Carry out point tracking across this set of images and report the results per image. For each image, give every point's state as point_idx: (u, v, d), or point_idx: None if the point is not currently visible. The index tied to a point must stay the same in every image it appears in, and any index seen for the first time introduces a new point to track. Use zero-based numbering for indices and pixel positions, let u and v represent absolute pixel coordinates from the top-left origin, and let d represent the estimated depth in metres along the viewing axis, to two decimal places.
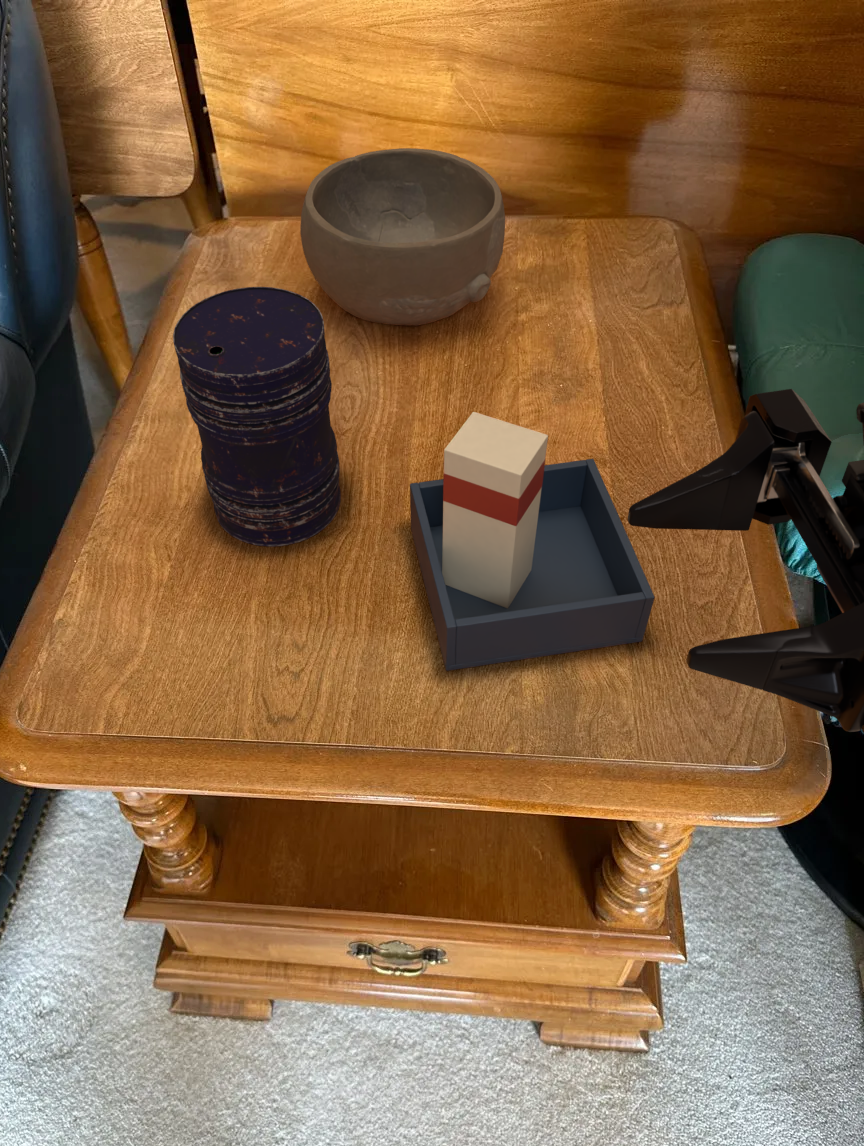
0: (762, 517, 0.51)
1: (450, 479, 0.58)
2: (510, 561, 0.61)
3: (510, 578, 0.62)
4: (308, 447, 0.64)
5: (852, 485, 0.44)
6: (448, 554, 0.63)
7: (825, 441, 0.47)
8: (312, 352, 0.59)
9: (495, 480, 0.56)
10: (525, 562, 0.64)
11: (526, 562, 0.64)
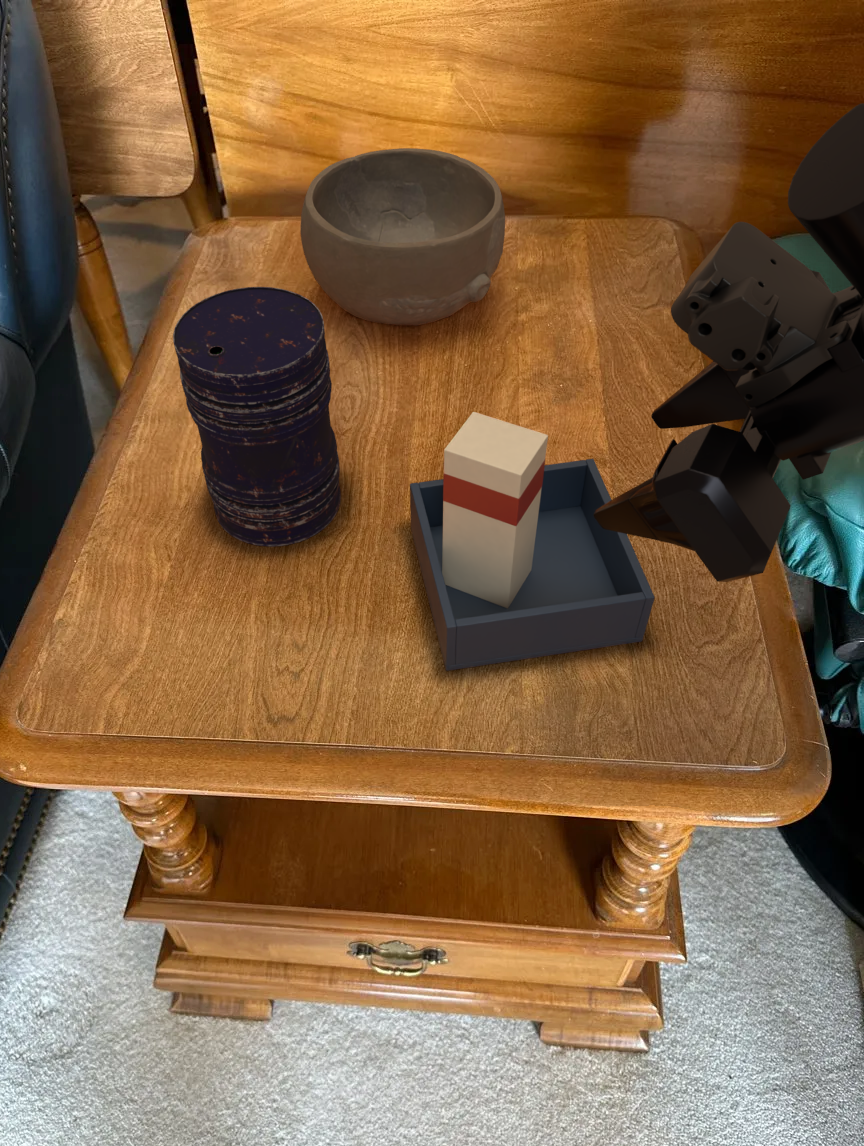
0: None
1: (450, 479, 0.58)
2: (510, 561, 0.61)
3: (510, 578, 0.62)
4: (308, 447, 0.64)
5: None
6: (448, 554, 0.63)
7: None
8: (312, 352, 0.59)
9: (495, 480, 0.56)
10: (525, 562, 0.64)
11: (526, 562, 0.64)
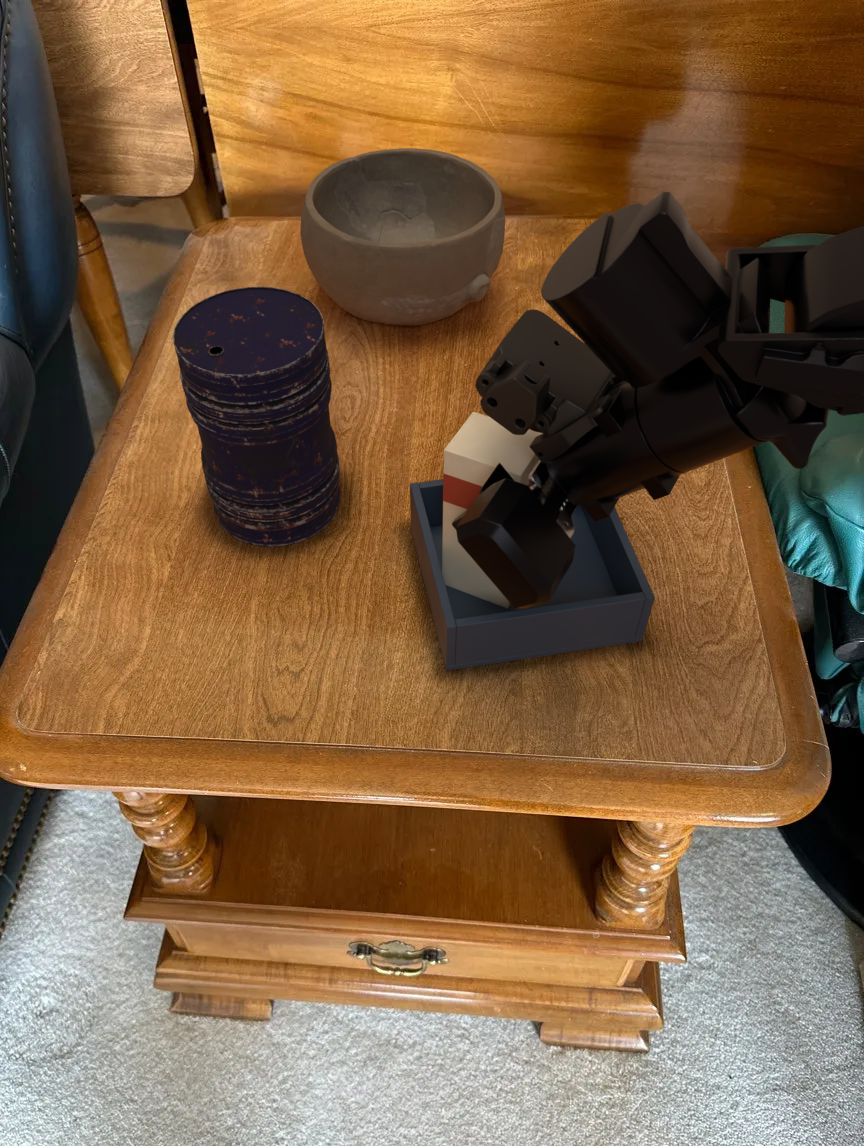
0: None
1: (450, 479, 0.58)
2: None
3: None
4: (308, 447, 0.64)
5: None
6: (448, 554, 0.63)
7: None
8: (312, 352, 0.59)
9: None
10: None
11: None
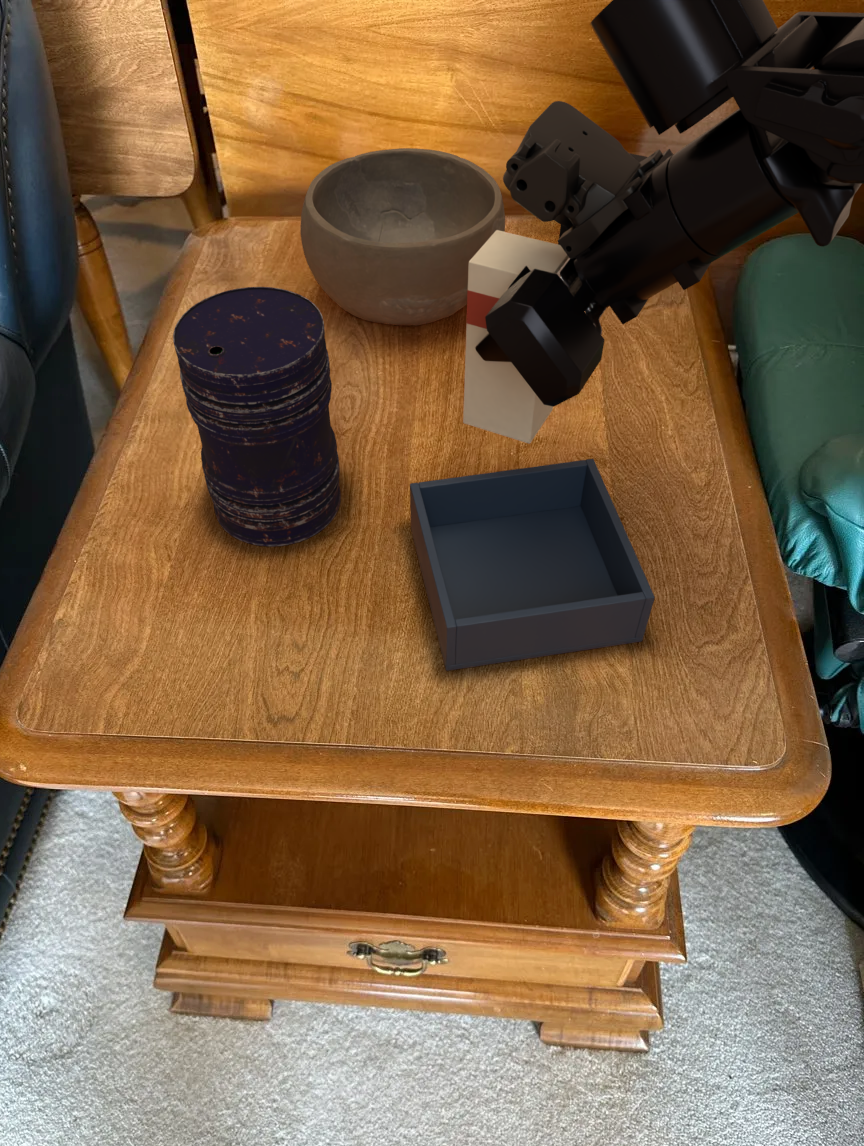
0: None
1: (474, 296, 0.58)
2: None
3: (533, 406, 0.62)
4: (308, 447, 0.64)
5: None
6: (470, 387, 0.63)
7: None
8: (312, 352, 0.59)
9: None
10: None
11: None
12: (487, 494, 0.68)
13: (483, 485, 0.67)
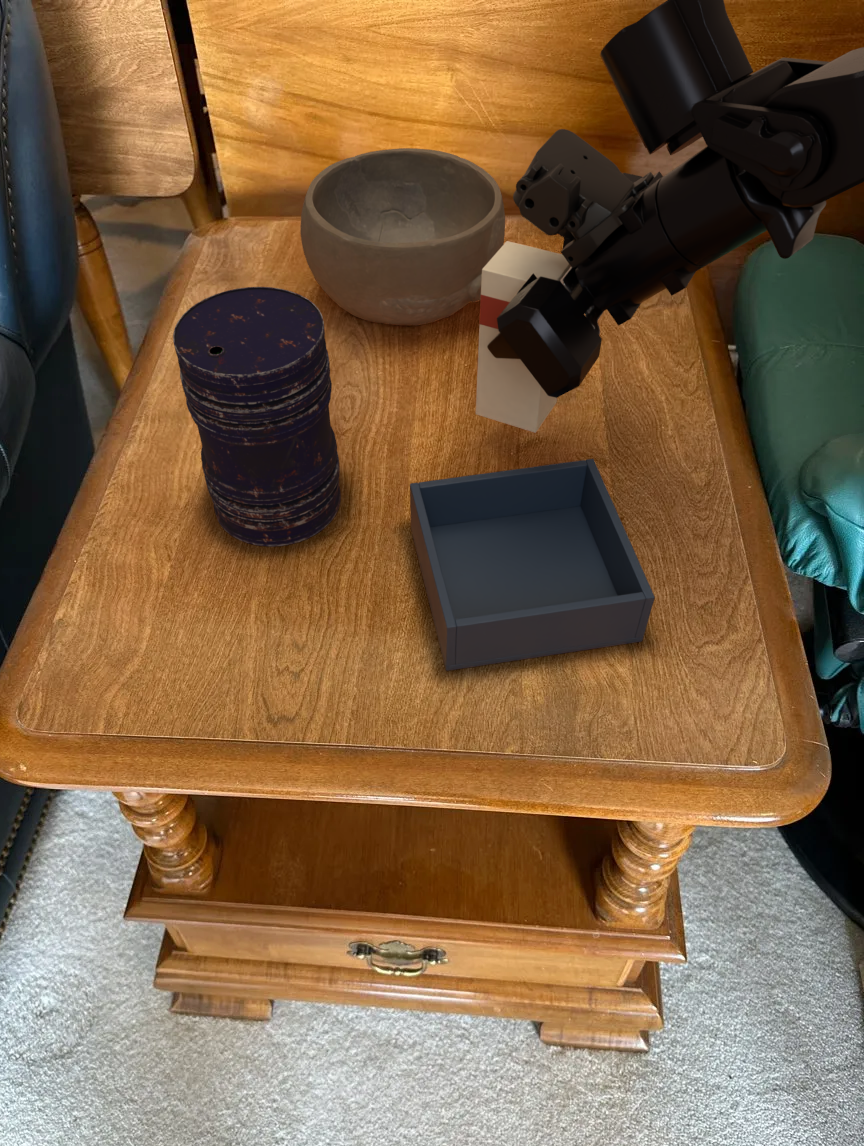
0: None
1: (486, 300, 0.65)
2: None
3: (539, 399, 0.69)
4: (308, 447, 0.64)
5: None
6: (482, 381, 0.70)
7: None
8: (312, 352, 0.59)
9: None
10: None
11: None
12: (487, 494, 0.68)
13: (483, 485, 0.67)
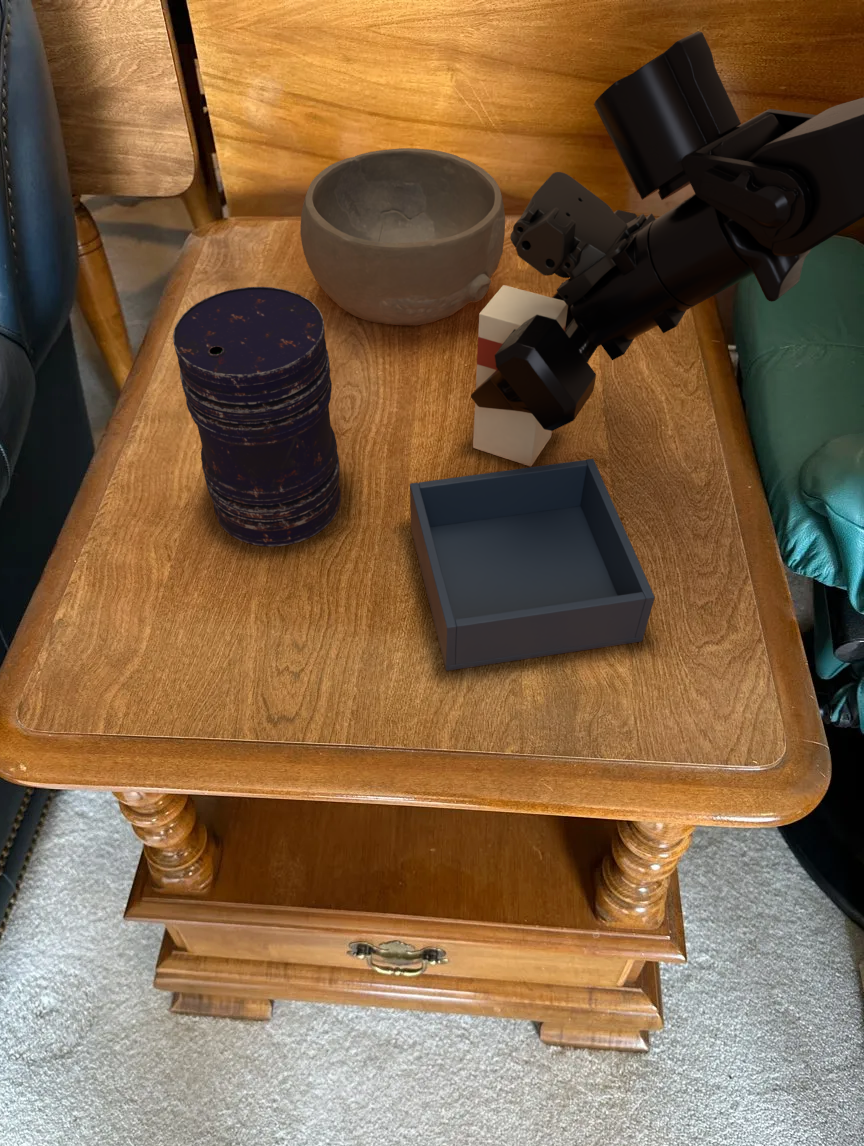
0: None
1: (484, 342, 0.67)
2: (534, 418, 0.70)
3: (534, 435, 0.71)
4: (308, 447, 0.64)
5: None
6: (479, 417, 0.73)
7: None
8: (312, 352, 0.59)
9: None
10: None
11: None
12: (487, 494, 0.68)
13: (483, 485, 0.67)
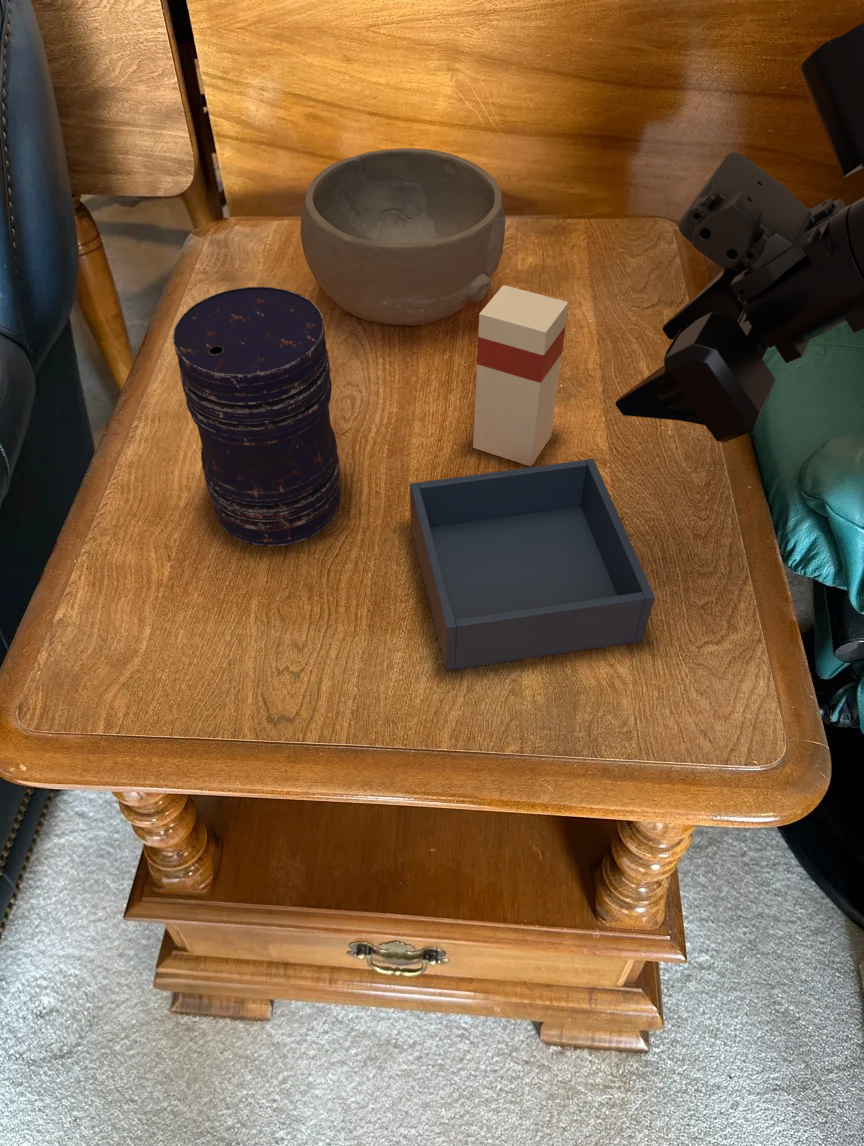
0: None
1: (484, 342, 0.67)
2: (534, 418, 0.70)
3: (534, 435, 0.71)
4: (308, 447, 0.64)
5: None
6: (479, 417, 0.73)
7: None
8: (312, 352, 0.59)
9: (523, 339, 0.66)
10: (546, 425, 0.73)
11: (547, 426, 0.74)
12: (487, 494, 0.68)
13: (483, 485, 0.67)
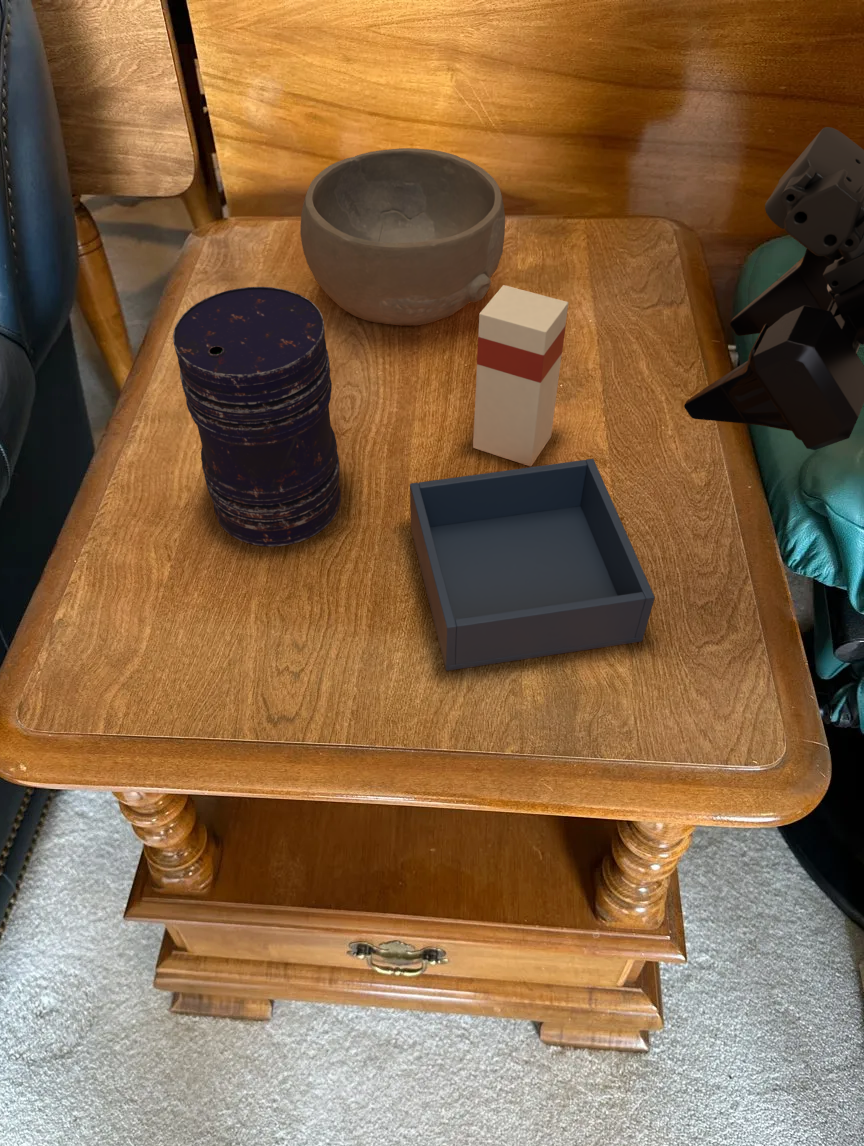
0: None
1: (484, 342, 0.67)
2: (534, 418, 0.70)
3: (534, 435, 0.71)
4: (308, 447, 0.64)
5: None
6: (479, 417, 0.73)
7: None
8: (312, 352, 0.59)
9: (523, 339, 0.66)
10: (546, 425, 0.73)
11: (547, 426, 0.74)
12: (487, 494, 0.68)
13: (483, 485, 0.67)
